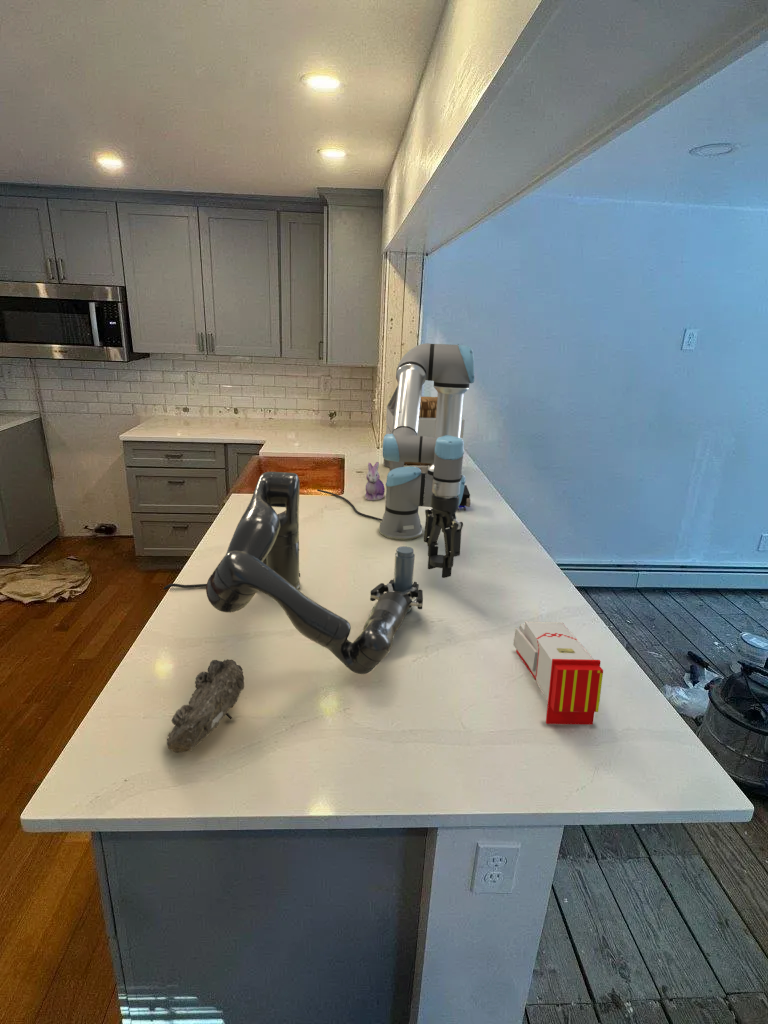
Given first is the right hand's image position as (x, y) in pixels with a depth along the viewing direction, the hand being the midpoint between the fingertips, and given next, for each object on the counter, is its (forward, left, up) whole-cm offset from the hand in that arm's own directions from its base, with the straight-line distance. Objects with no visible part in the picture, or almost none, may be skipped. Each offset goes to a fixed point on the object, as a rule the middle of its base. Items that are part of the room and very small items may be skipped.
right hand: (439, 572), depth 161 cm
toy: (+45, -12, -5) cm, 47 cm away
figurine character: (-45, +59, -5) cm, 74 cm away
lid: (0, 0, +4) cm, 4 cm away
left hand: (+1, -14, +1) cm, 14 cm away
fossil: (+12, -74, -5) cm, 75 cm away
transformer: (-90, +79, -5) cm, 120 cm away
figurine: (-73, +37, -5) cm, 82 cm away
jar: (+3, -16, -5) cm, 17 cm away
